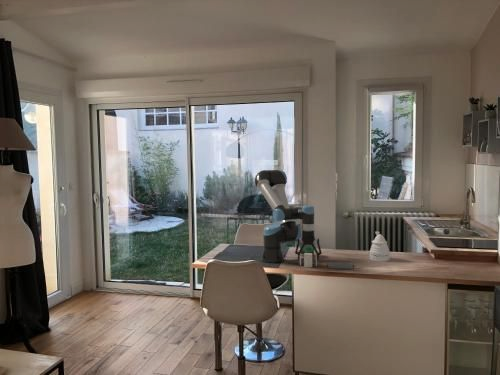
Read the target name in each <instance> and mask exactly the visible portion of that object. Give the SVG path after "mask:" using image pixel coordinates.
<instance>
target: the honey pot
mask: <svg viewBox="0 0 500 375" xmlns="http://www.w3.org/2000/svg"><path fill="white" fill-rule="evenodd" d="M375 235H376V236H375V238H374V239H373V240H371V243H372V244H371V246H370V249H369V259H370V260H371V261H375V262H387V261H388V260H389V261H390V258H391V254H390V252H391V251H390V249H389V246H388V241H387V240H386V239H385V237H384V235H382V234H381V233H380V231H375Z"/></svg>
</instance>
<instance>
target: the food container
mask: <svg viewBox="0 0 500 375" xmlns="http://www.w3.org/2000/svg"><path fill="white" fill-rule="evenodd" d="M313 244H314V246H315V247H316V244H317V243H316V241H314V242H313ZM302 245H303V241H302V242H300V243H299V250H300V249H301V247H302ZM304 253H312V257H314V255H315V250H314V249H313V247H312V245H305V246H304V248H303V249H302V251H301V253H300V254H301V257H303V258H304Z"/></svg>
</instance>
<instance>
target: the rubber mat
mask: <svg viewBox="0 0 500 375" xmlns="http://www.w3.org/2000/svg"><path fill="white" fill-rule="evenodd" d="M327 268H328V269H332V270H333V269H334V270H354V266H353V263H352V262H327Z"/></svg>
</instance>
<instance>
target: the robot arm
mask: <svg viewBox="0 0 500 375" xmlns="http://www.w3.org/2000/svg"><path fill="white" fill-rule="evenodd" d="M287 183H288V177H287V174H286V172H285V171H284V170H281V169H267V170H266V169H264V170H260V171H259V172H257V174H256V175H255V176H254V185H255V187H256V189H257V190H258V191H260V192H261V194H262V196H263V197H264V199H265V200H266V201H267V203H268V205H269V206H270V208H271V209H272V216H273V219H274V221H276V222H277V221H279V224H276V223H274V224H268V225H266V226H264V228H263V250H262V252H261V253H262V254H261V257H260V259H261V260H262V261H261V262H263V261H264V263H268V262H271V263H272V264H273V263H274V264H275V263H276V262H277V263H281V262H283V261H285V260H284V259H285V258H284V254H283V250H282V244H290V243H291V244H292V243H297V244H296V248H295V252H294V254H295V255H297V260H298V261H299V266H302V256H301V251H302V249H303V248H304V246H305V245H312V247H313V249H314V253H315V266H316V267H317V266H318V261H319V258H320V255H322V253H323V252H322V249H321V245H320V238H315V207H314V206H313V205H310V204H309V205H302V206H301V207H300V206H294V207H290V205H289V202H288V201H289V200H288V197H287V195H286V191H285V188H286V185H287ZM296 220H301V226H300V225H299V224H297V223H296ZM301 241H302V243H303V245H302V247H301V249H300V245H299V243H300V242H301ZM314 241H315V243H316V244H317V246H316V245H315V246H314V244H313V242H314ZM317 248H318V249H317ZM271 263H270V264H271Z"/></svg>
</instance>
